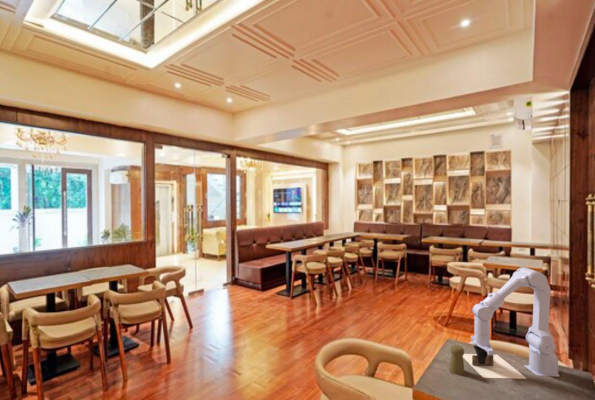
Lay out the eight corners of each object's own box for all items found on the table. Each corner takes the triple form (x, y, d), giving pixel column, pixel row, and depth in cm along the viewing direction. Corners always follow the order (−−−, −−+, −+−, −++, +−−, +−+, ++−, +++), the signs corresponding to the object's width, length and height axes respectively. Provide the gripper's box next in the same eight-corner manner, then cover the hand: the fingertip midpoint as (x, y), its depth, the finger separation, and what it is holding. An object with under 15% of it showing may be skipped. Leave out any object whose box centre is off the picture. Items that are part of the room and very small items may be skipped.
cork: (461, 368, 135) (461, 343, 135) (467, 376, 129) (468, 350, 129) (446, 367, 135) (447, 342, 135) (452, 375, 129) (452, 349, 129)
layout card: (497, 355, 146) (497, 354, 146) (526, 379, 127) (526, 378, 127) (459, 354, 147) (459, 353, 147) (483, 378, 127) (483, 377, 127)
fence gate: (489, 365, 136) (489, 356, 136) (473, 365, 136) (473, 356, 136) (487, 363, 138) (487, 354, 138) (471, 364, 138) (471, 355, 138)
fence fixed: (482, 355, 145) (482, 345, 145) (494, 366, 136) (494, 355, 136) (478, 355, 145) (478, 345, 145) (490, 366, 136) (490, 355, 136)
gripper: (464, 325, 143) (464, 355, 143) (481, 339, 129) (481, 372, 129) (480, 326, 143) (479, 355, 143) (499, 340, 128) (498, 373, 128)
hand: (481, 363), depth 136 cm, fingers closed
